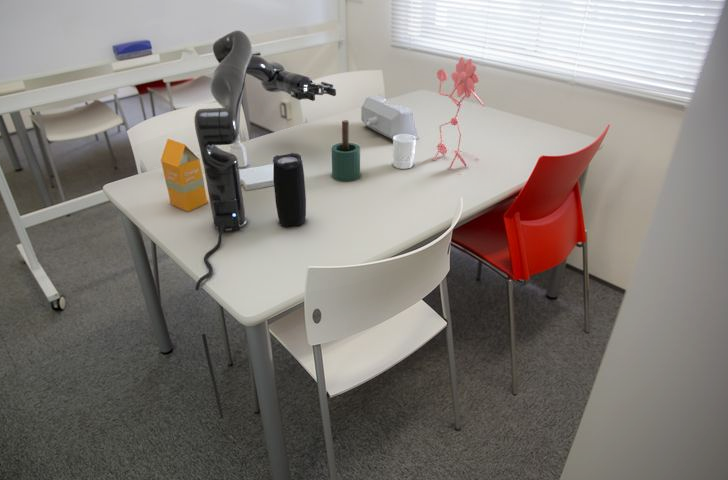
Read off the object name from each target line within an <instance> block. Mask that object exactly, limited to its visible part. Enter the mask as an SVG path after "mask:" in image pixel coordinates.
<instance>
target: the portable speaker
mask: <svg viewBox="0 0 728 480" xmlns="http://www.w3.org/2000/svg"><path fill="white" fill-rule="evenodd" d="M272 163H273V164H274V166H273V181H274V185H273V190H274V198H275V199H274V200H275V208H276V213H277V218H278V223H279V225H280V226H282V227H284V228H288V226H295V225H297V226H298V227H301V226H303V225H304V224H305V223H306V216H307V195H306V182H305V180H306V179H305V171H304V164H303V160H302V155H301V154H299V153H295V152H291V153H287V154H276V155H275V156H274V157H273V158H272Z"/></svg>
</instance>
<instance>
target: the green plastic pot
mask: <svg viewBox="0 0 728 480" xmlns="http://www.w3.org/2000/svg"><path fill="white" fill-rule="evenodd" d="M331 176H332V178H333V180H335V181H338V182H339V181H340V182H353V181H356V180H358V179H359V178H360V177H361V147H360V145H359V144H357V143H353V142H349V151H342V142H338V143H335V144H334V145H332V146H331Z"/></svg>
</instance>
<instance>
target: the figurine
mask: <svg viewBox="0 0 728 480" xmlns="http://www.w3.org/2000/svg"><path fill="white" fill-rule="evenodd" d="M476 70H477V65H475V64H473V60H472V58H468V59H467V60H466V61H465V58H464V57H463V56H461V57H460V58H459V60H458V62H457V63H456V64H455V71H453V72H451V75H450V76H451V79H452V81H453V90H452V91H451V93H450V94H448V93H442V84H443V83H444V82H445V81H447V79H448V73H447V72H446V71H445V70H444V68H442V69H439V70H438V71H437V72H436V76H437V77H436V78H437V79H438V80H439V89H438V95H439V96H444V97H448V98H449V99H451V101H452V102H453V103H454V104H455V105H456V106H457V111H456V114H455V116H453V117H451V118H450V121H449V122H445V123H443V124H440V125H439V134H440V135H439V137H440V142H439V143H438V144H437V145H436V148H437V152H436V154H435V156H434V158H433V160H434V161H436V159H437V157H438V155H439V153H440V154H441V155H442V156H444V155H446V154H447V152H448V148H447V146H446V145H445V144H444V143H443V139H442V138H443V137H442V127H443V126H445V125H449V124H450V125H452V126H453V127H454V126H457V129H458V132H459V138H458V144H457V145H458V147H457V150H454V149H451V151H452V152H454V154H455V155H454V157H453V159H452V161H451V162H450V165H449V166H448V169H449V170H451V169H452V166H453V164H454V162H455V160H456V158H458V160H459V161H460V162H461V163H462V164H463V165H464V167H465V168H466V167H467V166H468V165H467V163H466V162H465V159H464V158H463V157H462V156H461V154H460V153H464V154H467V155H470V156H471V157H474V158H475V159H476V160H477V161H478V162H480V160H479V159H478V158H477V157H476V156H474V155H475V154H470V153H467V152H465V151H461V150H460V145H461V137H462V133H461V129H460V126H459V119H458V118H457V117H458V114H459V112H460V109H461V106H462V102H463V100H465V98H466V99H470V97H471V94H472V95H473V97H474V98H475V99H476V100H477V101H478V102H479V103H480V104H481V105H482V107H483V108H485V107H486V105H485V104H484V103H483V102H482V100H481V99H480V98H479V97H478V95H477V94H476V92H475V90H476V86H475V84H477V83H479V81H480V78H479V76H478V75H477V73H476ZM455 91H456V96H457V97H459V98H460V97H462V98H461V99H460V101H459V100H457V99H456V98H455V97H453V95H454V93H455ZM457 175H458V176H459V175H461V173H460V174H459V173H458V174H457Z"/></svg>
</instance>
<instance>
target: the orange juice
mask: <svg viewBox="0 0 728 480" xmlns="http://www.w3.org/2000/svg"><path fill="white" fill-rule="evenodd" d="M160 162H161V167H162V171H163V172H162V173H163V176H164V179H165V185H166V189H167V194H168V197H169V198H168V199H169V201H170V204H171V205H172V206H175V207H177V208H179V209H181V210H182V211H183V210H184V211H185V212H190V211H193V210H195V209H197V208H200V207H202V206H203V205H206V204H207V203H208V199H207V193H206V187H205V181H204V180H205V179H204V176H203V170H202V165H201V159H200V158H199V157H198V156H197V154H195V153H194V152H193V151H192V150H191V149H190V148H189V147H188V146H187V145H186V144H185V143H182V142H179V141H176V140H173V139H170V138H167V139H166V142H165V145H164V149H163V152H162V155H161V158H160Z"/></svg>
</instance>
